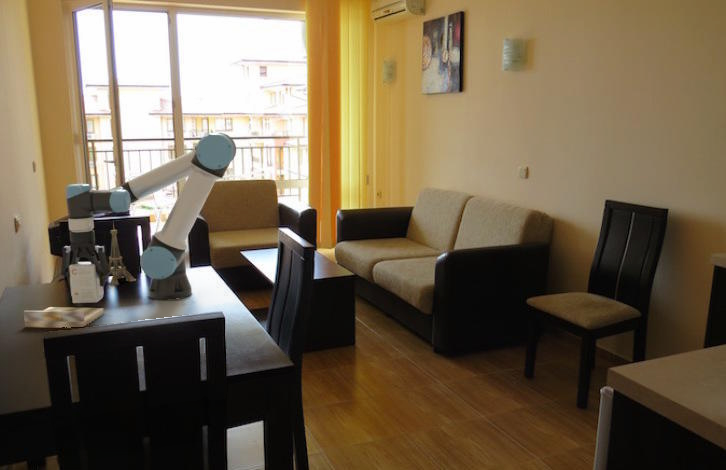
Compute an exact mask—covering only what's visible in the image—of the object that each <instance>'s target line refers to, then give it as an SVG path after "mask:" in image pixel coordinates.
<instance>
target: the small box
mask: <svg viewBox="0 0 726 470" xmlns="http://www.w3.org/2000/svg"><path fill="white" fill-rule="evenodd" d="M98 262H99V263H100V261H98ZM100 264H101V263H100ZM68 270H70V280H71V286H70V291H71V290H72V296H71V298H72V303H73V304H81V303H83V304H86V303H98V302H99V301H100V300H102V299H103V297H104V294H103V295H101V296H98V290H97V279H96V278H97V277H99V276H98V274H97V273H96V268H95V264H91V262H90V261H78V263H77V264H72V265H70V264H69V269H68Z"/></svg>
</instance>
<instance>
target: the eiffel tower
mask: <svg viewBox="0 0 726 470" xmlns="http://www.w3.org/2000/svg"><path fill="white" fill-rule="evenodd" d="M112 224H113V225H112V228H113V229H111V230H110V234H111V243H110V244H111V245H110V256H108V259H109V261H108V266H109V269H110V274H108V275H106V276H105V283H106V282H108V278H109V276H110V275H111V274H112V277H111V280H110V282H109V283H108V284H109V286H113V287H114V286H119V285H120V282H118V279H119V280H120V279H123V278H126V281H127V282H135V281H137V279H136V278H134V276H133V275H132V274H131V273H130V272H129V270H127V269H126V268H127V266H125V265H124V263H123V261H122V259H123V256H121V252H120V248H119V243H118V241H119V240H118V237H117V234H118V233H119V232H118V229H115V225H114V222H112ZM108 259H107V260H108Z"/></svg>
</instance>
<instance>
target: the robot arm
mask: <svg viewBox="0 0 726 470" xmlns="http://www.w3.org/2000/svg"><path fill="white" fill-rule="evenodd" d="M236 154H237V147H236V143H235V141H234V140H233V138H232V137H230V136H229V135H228V134H226V133H223V132H210V133H207V134H205V135H204V136H202V137H201V139H199V141H198V142H197V144H196V145H195V146H193V149H192V150H191V151H188V152H186V153H184V154H183V155H180V156H179V157H178V156H177V158H175V159H171V160H170V161H168V162H166V163H164V164H162V165H160V166H157V167H156V168H155V167H154V168H153V169H151V170H149V171H147V172H145V173H142V174H141V175H139V176H137V177H135V178H133V179H130V180H129V181H126V182H123V183H122V184H120V185H117V186H116V187H113V188H109V189H92V188H91V185H90V184H88V183H75V184H74V183H72V184H68V185H66V187H65V196H66V197H65V200H66V208H67V219H68V230H69V241H70V245H69V246H68V245H65V246H63V247H61V251H62V259H61V261H62V262H61V270H60V275H61V276H63V277H64V276H65V277H67V285H68V287H71V280H70V270H69V266H70V265H72V264H77V263H78V262H80V259H81V258H85V259H87V260H88V261H89V262H91V264H95V268H96V273H97V274H98V276H99V277H97V278H96V279H97V290H98V296H101V295H103V296H104V286H105V285H106V282H105V276H106V275H108V274H110V269H109V266H108V265H109V261H108V259H107V256H106V246H105V245H102V246H100V245H97V244H96V236H95V235H96V234H95V230H94V228H95V224H94V215H93V213H124V212H125V213H126V212H128V211H129V210H130V208H131V205H132V204H134V203H136V202H138V201H140V200H142V199H144V198H146V197H148V196H150V195H153V194H154V193H156V192H158V191H161V190H163V189H165V188H167V187H170V186H172V185H174V184H175V183H177V182H179V181H182V180H184V179H186V178H187V179H186V181H185V183H184V185H183V187H182V189H181V191H180V193H179V195H178V197H177V198H176V201H175V203H174V205H173V207H172V208H171V209H170V210H171V211H170V212H169V214H168V217H167V218H166V220H165V222H164V225H163V226H162V228H161V230H160V231H157V232H154V233H153V234H152V235H151V239H150V242H149V243H148V246H147V248H146V249H145V250H144V251H143V252H142V253H141V255H140V262H139V263H140V267H141V270H142V271H143V273H144V274H145V275H147V276H148V277H149V278H152V279H151V281H150V285H149V288H148V297H149V298H150V299H153V300H158V301H159V300H161V301H168V300H167V299H174V300H178V299H177V298H180V299H184V298H187V297H189V296H191V295H192V285H191V282H190V280H189V278H188V275H187V267H186V266H187V264H186V261H187V260H186V250H187V244H186V240H187V238H188V236H189V234H190V232H191V231H192V228H193V227H194V224H195V223H196V220H197V219H198V216H199V215H200V212H202V211H201V210H202V209H203V207H204V205H205V203H206V200H207V199H208V197H209V196H210V193H211V191H212V189H213V187H214V185H215V183H216V182H217V181H218V180H222V179H223V178H224V175H225V174H226V172H227V170H228V168H229V166H230V164H231V162H232V161H233V160H234V158H235V157H236ZM95 251H96V253H97V255H96V253H95ZM71 252H72V253H73V255H72V258H70V257H71ZM97 256H98V258H99V260H98V258H97ZM70 259H72V260H71V262H70ZM99 262H100V263H99ZM110 275H111V274H110ZM190 294H191V295H190ZM70 295H71V297H72V290H71V289H70ZM186 296H187V297H186ZM183 297H184V298H183Z"/></svg>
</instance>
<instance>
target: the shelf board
mask: <svg viewBox="0 0 726 470" xmlns="http://www.w3.org/2000/svg"><path fill="white" fill-rule="evenodd" d="M104 310H105V309H104V308H103V307H65V306H64V307H60V306H57V307H56V306H54V307H53V306H49V307H47V308H45V309H43V310H23V316H24V317H23V318H24V319H23V320H24V328H56V329H57V328H58V329H59V328H61V329H62V327H65V328H64V329H72V328H71V327H83V326H86V325H87V324H88V325H90V324H91V323H93V322H94V321H96V320H97V319H98V318H100V317H102V316H103V315H105V313H104ZM95 319H96V320H95ZM92 321H93V322H92ZM89 323H90V324H89ZM88 325H87V326H88ZM87 326H86V327H87ZM66 327H67V328H66Z"/></svg>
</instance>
